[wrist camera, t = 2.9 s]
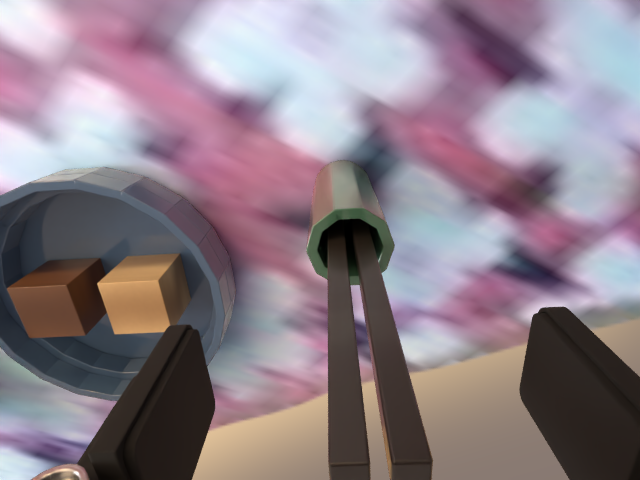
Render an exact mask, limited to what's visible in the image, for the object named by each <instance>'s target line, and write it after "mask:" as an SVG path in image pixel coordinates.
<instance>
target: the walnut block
mask: <svg viewBox="0 0 640 480" xmlns="http://www.w3.org/2000/svg"><path fill="white" fill-rule="evenodd" d="M105 276H106V274H105V271H104V268H103V265H102V262H101V259H100V258H88V259H69V260H51V261H47V262H45V263H44V264H42V265H41V266H39V267H38V268H36V269H35V270H33V271H32V272H30V273H29V274H27V275H26V276H24V277H23V278H21V279H20V280H18V281H17V282H15V283H14V284H12V285H11V286H9V287H8V288H7V290H8V292H9V294H10V297H11V299H12V301H13V303H14V305H15V307H16V310H17V312H18V314H19V316H20V318H21V321H22V323H23V325H24V327H25V329H26V331H27V334H28V336H29V338H45V337H66V336H85V335H87V334H88V333H89V331H90V330H91V329H92V328H93V327H94V326H95V325H96V324H97V323H98V322H99V321H100V320H101V318H102V317H103V316H104V315H105V314H106V313H107V311H106V308H105V305H104V302H103V299H102V296H101V293H100V291H99V288H98V285H97V283H98V282H99V281H101V280H102V279H103V278H104V277H105Z"/></svg>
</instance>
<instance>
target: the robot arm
mask: <svg viewBox="0 0 640 480" xmlns="http://www.w3.org/2000/svg"><path fill="white" fill-rule="evenodd" d="M520 396H521V399H522V401H523V403H524V405H525V407H526V408H527V410H528V411H529V413H530V415H531V417H532V418H533V420H534V422H535V423H536V425H537V426H538V428H539V430H540V431H541V433H542V435H543V436H544V438H545V440H546V441H547V443H548V445H549V446H550V448H551V450H552V451H553V453H554V455H555V456H556V458H557V459H558V461H559V463H560V464H561V466H562V468H563V469H564V471H565V473H566V474H567V476H568V478H569V479H570V480H640V377H639V376H638V375H637V374H636V373H635V372H634V371H633V370H632V369H631V368H629V367H628V366H627V365H626V364H625V363H624V362H623V361H622V360H621V359H620V358H619V357H618V356H617V355H616V354H615V353H614V352H613V351H612V350H611V349H610V348H609V347H607V346H606V345H605V344H604V343H603V342H602V341H601V340H600V339H599V338H598V337H597V336H596V335H594V333H593V332H592V331H591V330H590V329H589V328H588V327H587V326H585V325H584V324H583V323H582V322H581V321H580V320H579V319H578V318H577V317H576V316H575V315H574V314H573V313H572V312H571V311H570V310H569V309H567V308H566V307H548V308H541V309H540V310H539V312H538V313H536V314H534V315H533V317H532V322H531V328H530V333H529V339H528V344H527V350H526V355H525V361H524V367H523V372H522V377H521V383H520ZM214 411H215V398H214V394H213V390H212V386H211V381H210V377H209V373H208V368H207V364H206V360H205V356H204V351H203V347H202V343H201V338H200V334H199V331H198V330H197V329H193V328H192V326H191V325H189V324H188V325H170V326H168V328H167V329H166V330H165V332H164V334H163V335H162V337H161V338H160V340H159V341H158V343H157V344H156V346H155V348H154V349H153V351H152V352H151V354H150V355H149V357H148V359H147V360H146V362H145V363H144V365H143V366H142V368H141V370H140V371H139V373H138V374H137V375H136V376H134V378H133V379H132V380H131V381H130V383H129V384H128V386H127V387H126V389H125V390H124V392H123V394H122V395H121V397H120V398H119V400H118V401H117V403H116V404H115V406H114V407H113V409H112V411H111V412H110V414H109V415H108V417H107V418H106V420H105V421H104V423H103V424H102V426H101V428H100V429H99V431H98V432H97V434H96V435H95V437H94V438H93V440H92V441H91V443H90V444H89V446H88V448H87V449H86V451H85V452H84V454H83V455H82V457H81V458H80V460H79V461H78V463H77V464H64V465H59V466H55V467H53V468H51V469H48V470H46V471H44V472H42V473H40V474H39V475H37V476H36V477H34V478H33V479H31V480H192V477H193V474H194V471H195V469H196V466H197V463H198V459H199V456H200V454H201V450H202V447H203V445H204V442H205V439H206V436H207V433H208V430H209V427H210V424H211V421H212V418H213V415H214Z"/></svg>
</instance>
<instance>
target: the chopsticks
mask: <svg viewBox="0 0 640 480" xmlns="http://www.w3.org/2000/svg"><path fill="white" fill-rule="evenodd" d="M349 220H350V226H351V233H352V239H353V245H354V252H355V258H356V265H357V271H358V277H359V284H360V290H361V297H362V303H363V309H364V316H365V322H366V329H367V335H368V341H369V348H370V354H371V361H372V367H373V373H374V380H375V386H376V393H377V399H378V405H379V412H380V418H381V424H382V431H383V437H384V443H385V450H386V456H387V463H388V469H389V476H390V480H431V479H432V466H433V459H432V456H431V452H430V448H429V445H428V441H427V437H426V434H425V430H424V426H423V423H422V419H421V416H420V412H419V409H418V405H417V401H416V397H415V394H414V390H413V387H412V383H411V379H410V375H409V372H408V368H407V365H406V361H405V357H404V354H403V350H402V346H401V343H400V339H399V335H398V332H397V328H396V324H395V321H394V317H393V314H392V310H391V306H390V303H389V299H388V295H387V292H386V288H385V284H384V281H383V277H382V274H381V270H380V266H379V263H378V259H377V255H376V252H375V248H374V244H373V241H372V237H371V234H370V230H369V226H368V223H366V222H365V221H363V220H361V219H349ZM327 233H328V449H329V450H328V452H329V453H328V459H329V460H328V462H329V476H330V480H370V458H369V449H368V439H367V431H366V422H365V412H364V404H363V394H362V386H361V377H360V368H359V359H358V350H357V341H356V332H355V323H354V314H353V305H352V296H351V287H350V278H349V269H348V260H347V251H346V242H345V233H344V224H343V220H337V221H336V222H335V223H334V224H332V225H331V226H330V227H328V228H327Z"/></svg>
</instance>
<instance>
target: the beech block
mask: <svg viewBox="0 0 640 480" xmlns="http://www.w3.org/2000/svg"><path fill="white" fill-rule="evenodd" d="M97 285H98V288H99V291H100V293H101V296H102V299H103V302H104V305H105V308H106V311H107V314H108V316H109V319H110V322H111V325H112V328H113V331H114V334H133V333H155V332H165V330H166V329H167V328H168V326H170V325H176V324H177V323H178V321H179V319H180V318H181V316H182V314H183V313H184V311H185V309H186V308H187V306H188V304H189V303H190V301H191V297H190V292H189V288H188V284H187V280H186V276H185V271H184V267H183V263H182V259H181V255H180V253H178V254H160V255H142V256H127V257H126V258H125V259H124V260H123V261H121V262H120V263H119V264H118V265H117V266H116V267H115V268H114V269H113V270H112V271H110V272H109V273H108V274H107V275H106V276H105V277H104V278H103V279H102V280H101V281H99V282H98V283H97Z"/></svg>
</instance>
